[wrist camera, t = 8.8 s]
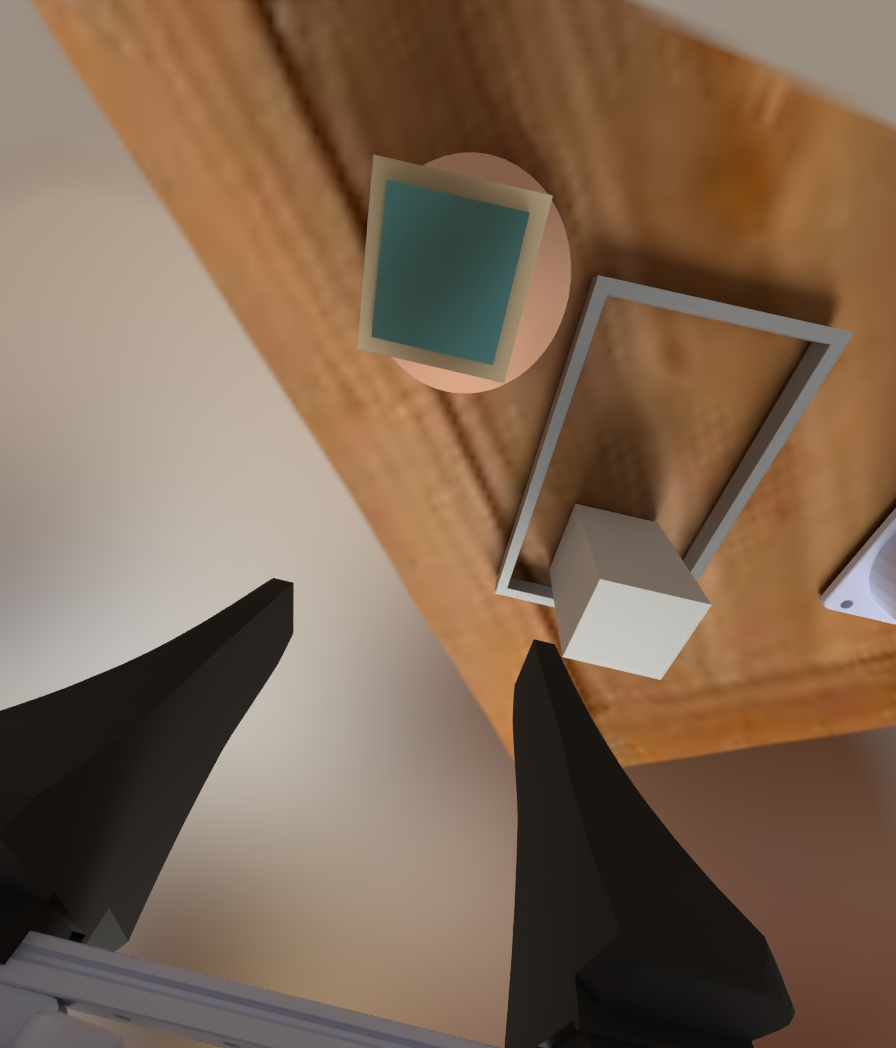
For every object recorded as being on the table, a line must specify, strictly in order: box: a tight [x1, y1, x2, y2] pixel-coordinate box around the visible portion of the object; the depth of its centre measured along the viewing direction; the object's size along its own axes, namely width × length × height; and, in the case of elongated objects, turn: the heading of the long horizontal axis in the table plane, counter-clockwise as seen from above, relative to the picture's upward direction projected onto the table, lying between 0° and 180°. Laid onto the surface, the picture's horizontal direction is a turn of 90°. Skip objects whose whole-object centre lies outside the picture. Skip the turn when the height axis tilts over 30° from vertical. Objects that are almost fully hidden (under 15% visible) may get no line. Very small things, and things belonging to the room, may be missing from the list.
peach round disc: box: [392, 152, 571, 393], centre depth 15 cm, size 8×8×1 cm
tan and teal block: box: [357, 154, 553, 383], centre depth 12 cm, size 4×4×6 cm
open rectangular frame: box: [495, 275, 854, 607], centre depth 18 cm, size 9×14×1 cm, turn 169°
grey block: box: [549, 504, 711, 680], centre depth 18 cm, size 4×4×6 cm
